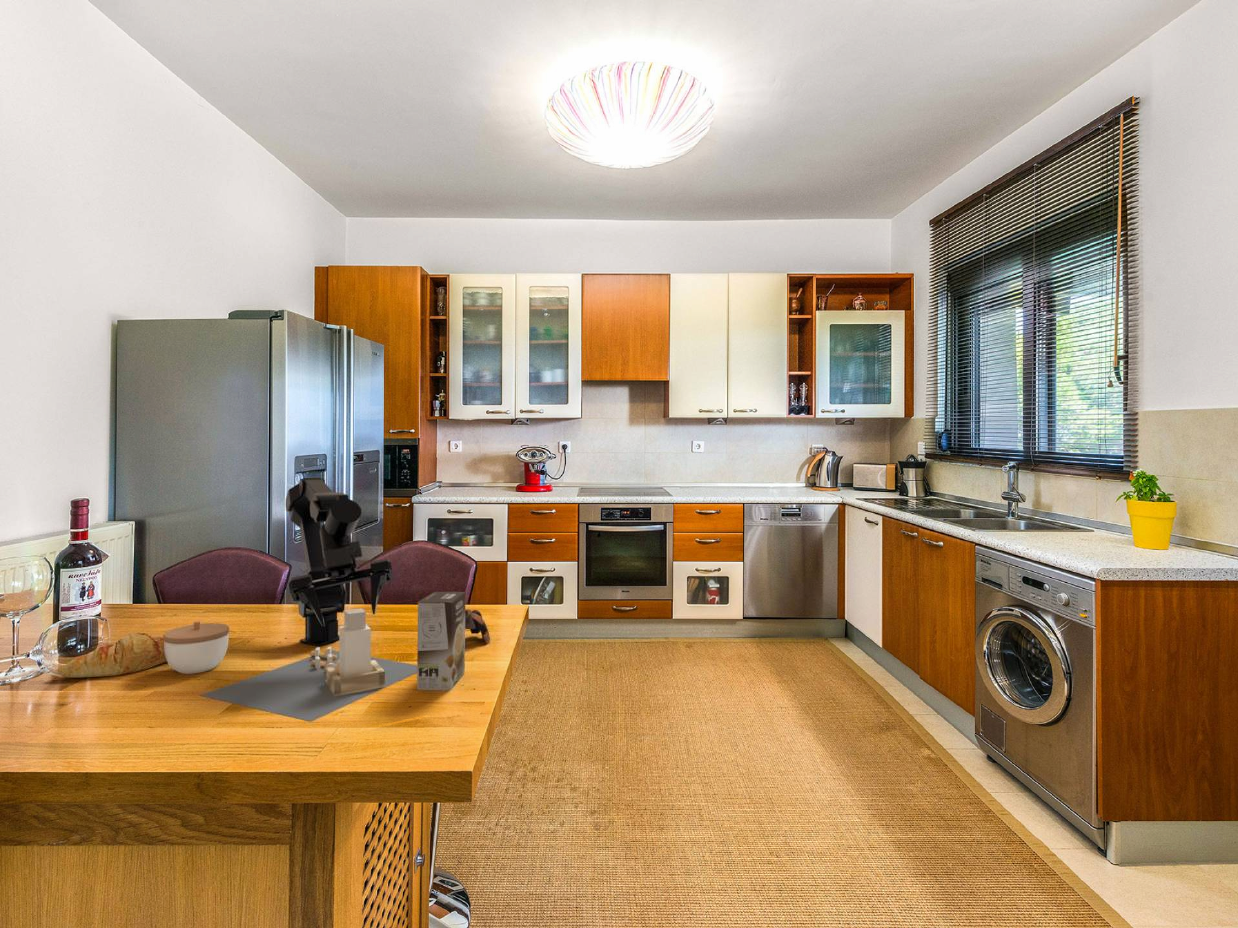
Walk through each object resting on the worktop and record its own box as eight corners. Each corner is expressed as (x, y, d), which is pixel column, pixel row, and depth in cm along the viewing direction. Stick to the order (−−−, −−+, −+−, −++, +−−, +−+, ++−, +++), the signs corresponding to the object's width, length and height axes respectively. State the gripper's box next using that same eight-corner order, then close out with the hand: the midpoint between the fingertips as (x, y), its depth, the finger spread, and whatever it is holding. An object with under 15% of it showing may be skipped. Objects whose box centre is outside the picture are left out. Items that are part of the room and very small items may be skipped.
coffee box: (451, 692, 115) (452, 602, 115) (416, 691, 115) (416, 601, 115) (465, 674, 124) (466, 591, 124) (432, 673, 125) (432, 590, 124)
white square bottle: (339, 681, 118) (339, 610, 118) (364, 676, 121) (364, 607, 120) (344, 688, 114) (344, 615, 114) (370, 683, 117) (370, 612, 117)
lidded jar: (208, 658, 133) (207, 612, 132) (241, 666, 128) (241, 618, 128) (150, 674, 123) (150, 624, 123) (184, 683, 118) (184, 632, 118)
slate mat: (199, 697, 112) (199, 695, 112) (330, 651, 137) (330, 649, 137) (310, 723, 101) (310, 721, 101) (429, 669, 127) (429, 666, 127)
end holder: (325, 681, 119) (325, 666, 119) (373, 673, 123) (373, 658, 123) (334, 696, 112) (334, 680, 112) (385, 686, 116) (385, 671, 116)
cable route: (305, 656, 133) (305, 646, 133) (332, 652, 136) (332, 642, 136) (319, 680, 119) (319, 669, 119) (348, 675, 122) (348, 664, 122)
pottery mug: (488, 650, 141) (469, 620, 139) (451, 667, 142) (432, 637, 140) (500, 622, 152) (482, 594, 151) (465, 638, 154) (447, 610, 152)
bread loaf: (60, 704, 117) (61, 670, 114) (52, 666, 123) (53, 633, 120) (196, 672, 133) (200, 642, 130) (183, 641, 138) (187, 611, 136)
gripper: (280, 539, 123) (289, 616, 116) (384, 520, 130) (398, 592, 123) (289, 564, 132) (298, 637, 125) (386, 545, 139) (399, 613, 132)
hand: (348, 619), depth 126 cm, fingers open, 9 cm apart
